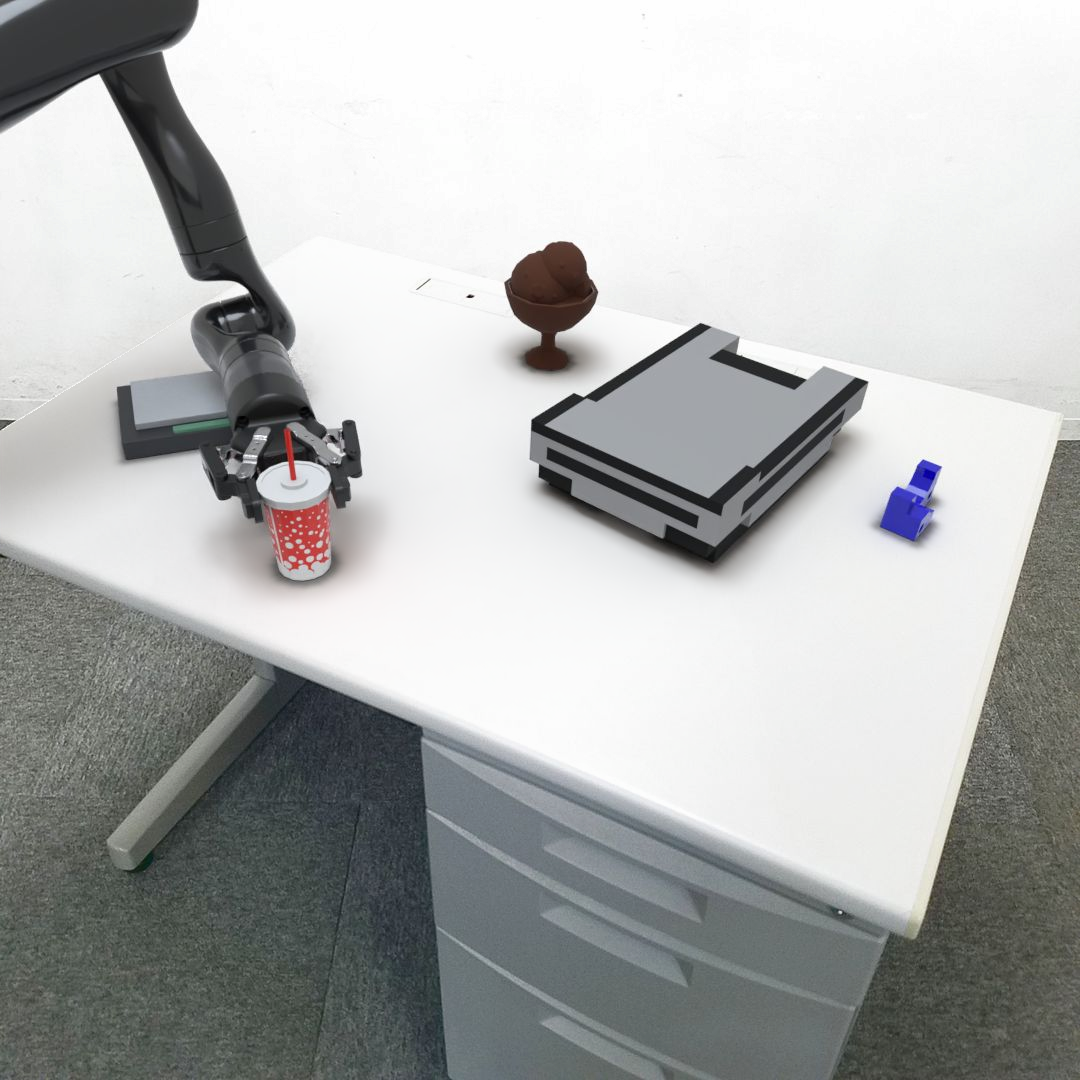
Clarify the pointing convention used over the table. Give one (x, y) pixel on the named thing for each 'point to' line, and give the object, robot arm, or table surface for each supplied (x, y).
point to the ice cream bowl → (551, 298)
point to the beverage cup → (298, 515)
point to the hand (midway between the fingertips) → (300, 506)
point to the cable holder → (912, 503)
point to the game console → (693, 439)
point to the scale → (172, 414)
